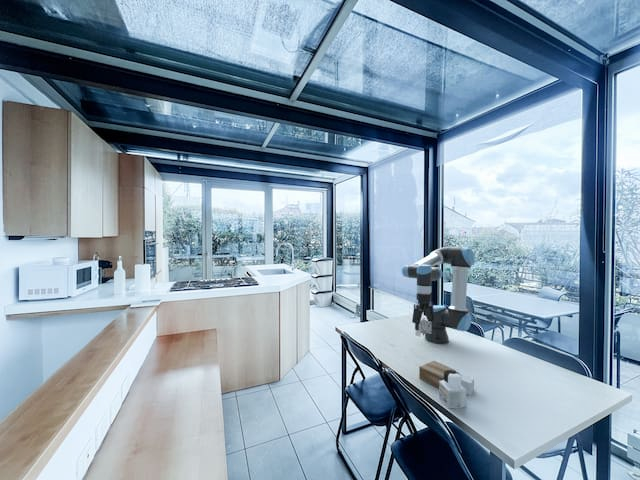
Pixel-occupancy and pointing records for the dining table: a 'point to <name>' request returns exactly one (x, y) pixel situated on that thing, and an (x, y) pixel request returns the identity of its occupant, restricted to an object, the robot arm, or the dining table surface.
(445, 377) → the container
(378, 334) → the dining table surface
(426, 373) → the base block
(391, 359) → the dining table surface
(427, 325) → the grey spiky ball
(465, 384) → the grey block
